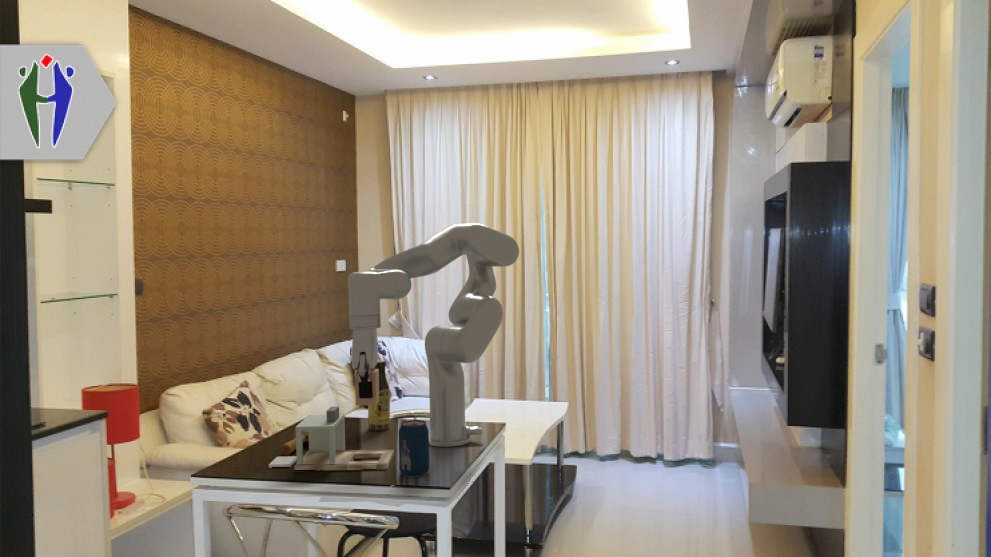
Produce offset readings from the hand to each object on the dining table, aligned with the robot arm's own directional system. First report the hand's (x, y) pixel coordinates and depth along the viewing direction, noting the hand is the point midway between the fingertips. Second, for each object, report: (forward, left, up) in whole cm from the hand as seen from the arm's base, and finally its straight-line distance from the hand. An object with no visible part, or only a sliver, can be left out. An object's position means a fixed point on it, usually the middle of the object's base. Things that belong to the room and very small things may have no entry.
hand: (367, 394), depth 185 cm
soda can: (-12, +11, -17) cm, 23 cm away
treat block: (0, 0, -2) cm, 2 cm away
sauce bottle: (+3, -34, -17) cm, 38 cm away
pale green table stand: (+12, 0, -15) cm, 19 cm away
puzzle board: (+6, 0, -17) cm, 18 cm away
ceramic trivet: (+21, 0, -17) cm, 27 cm away
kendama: (+20, -16, -17) cm, 31 cm away
